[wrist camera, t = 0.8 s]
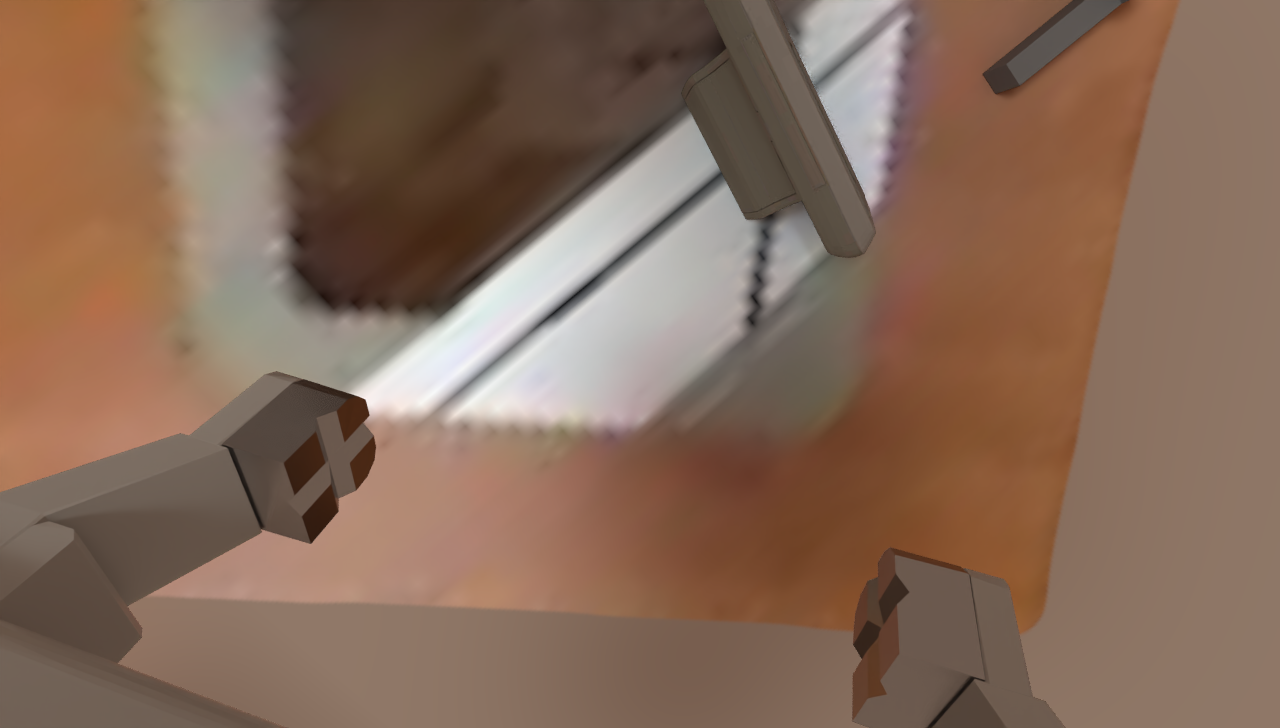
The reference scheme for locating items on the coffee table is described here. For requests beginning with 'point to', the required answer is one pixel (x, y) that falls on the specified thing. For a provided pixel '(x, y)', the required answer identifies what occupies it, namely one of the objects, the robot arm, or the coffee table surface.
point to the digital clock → (775, 128)
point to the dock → (1047, 42)
